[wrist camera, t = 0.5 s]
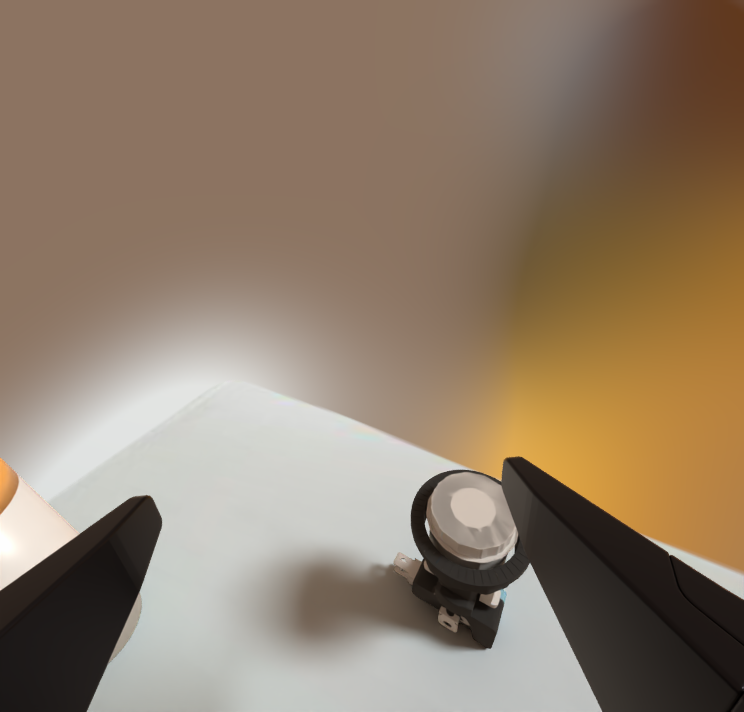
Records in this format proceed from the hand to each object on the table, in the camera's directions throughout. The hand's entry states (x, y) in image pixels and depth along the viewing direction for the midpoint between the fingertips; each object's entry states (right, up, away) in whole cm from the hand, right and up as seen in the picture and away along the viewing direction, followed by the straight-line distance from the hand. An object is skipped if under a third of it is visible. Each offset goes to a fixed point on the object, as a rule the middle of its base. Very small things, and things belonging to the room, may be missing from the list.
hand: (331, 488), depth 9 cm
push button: (+6, -11, +12) cm, 17 cm away
